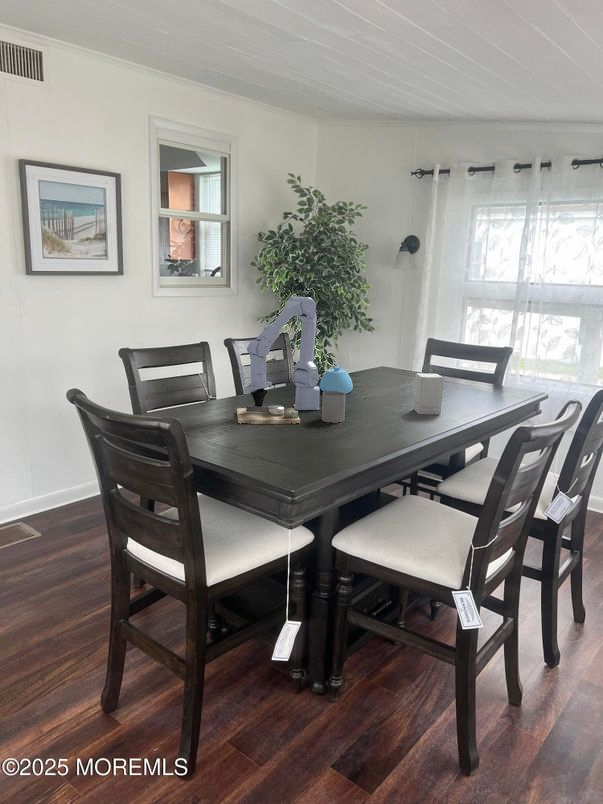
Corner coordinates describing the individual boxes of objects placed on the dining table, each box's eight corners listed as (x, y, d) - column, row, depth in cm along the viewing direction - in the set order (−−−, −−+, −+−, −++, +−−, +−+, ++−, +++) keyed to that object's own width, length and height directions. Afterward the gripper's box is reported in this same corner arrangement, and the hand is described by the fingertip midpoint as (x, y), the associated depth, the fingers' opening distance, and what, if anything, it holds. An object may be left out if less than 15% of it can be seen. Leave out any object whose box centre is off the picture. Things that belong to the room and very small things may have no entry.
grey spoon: (285, 412, 224) (285, 405, 223) (282, 415, 218) (282, 409, 217) (248, 410, 225) (248, 403, 225) (244, 413, 220) (244, 407, 219)
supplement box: (441, 415, 234) (444, 377, 230) (418, 414, 233) (421, 377, 230) (434, 409, 242) (437, 373, 239) (412, 409, 242) (415, 372, 239)
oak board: (293, 411, 232) (294, 401, 232) (300, 423, 215) (300, 413, 214) (236, 412, 229) (236, 402, 228) (238, 424, 212) (238, 413, 211)
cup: (328, 423, 216) (329, 396, 214) (317, 418, 223) (318, 392, 221) (348, 421, 220) (349, 394, 218) (337, 416, 227) (338, 390, 225)
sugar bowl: (358, 391, 275) (359, 366, 272) (342, 396, 262) (343, 370, 260) (329, 387, 282) (330, 363, 280) (313, 392, 270) (314, 366, 268)
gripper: (261, 369, 228) (261, 403, 231) (237, 374, 216) (237, 411, 219) (276, 371, 225) (276, 406, 228) (253, 376, 213) (253, 414, 216)
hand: (258, 408), depth 223 cm, fingers closed, pressing on grey spoon
